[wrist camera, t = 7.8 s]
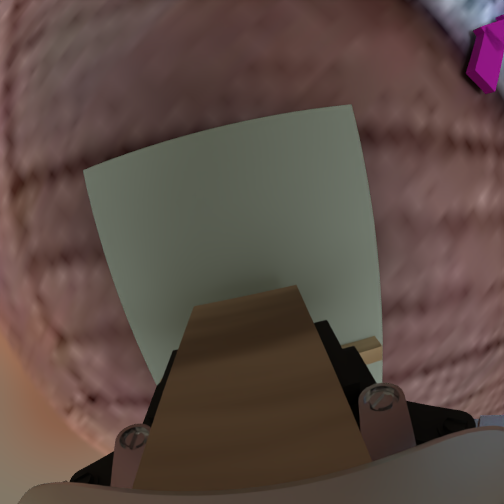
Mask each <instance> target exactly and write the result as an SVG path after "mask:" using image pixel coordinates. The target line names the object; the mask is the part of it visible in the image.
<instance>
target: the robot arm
mask: <svg viewBox="0 0 504 504" xmlns="http://www.w3.org/2000/svg"><path fill="white" fill-rule="evenodd" d="M314 325H315V327H316V329H317V332H318V334H319V336H320V338H321V341H322V343H323V345H324V348H325V350H326V352H327V354H328V357H329V359H330V361H331V364H332V366H333V368H334V371H335V373H336V375H337V378H338V380H339V382H340V385H341V387H342V389H343V392H344V394H345V396H346V399H347V401H348V404H349V406H350V408H351V411H352V413H353V416H354V418H355V420H356V423H357V425H358V428H359V430H360V433H361V435H362V437H363V440H364V442H365V445H366V447H367V450H368V452H369V455H370V457H371V460H372V462H369V463H366V464H363V465H359V466H356V467H353V468H349V469H346V470H342V471H338V472H334V473H330V474H326V475H322V476H317V477H313V478H308V479H303V480H298V481H293V482H287V483H281V484H275V485H268V486H260V487H252V488H242V489H230V490H214V491H157V490H141V489H132V487H133V484H134V480H135V477H136V474H137V470H138V467H139V464H140V461H141V458H142V454H143V451H144V448H145V445H146V442H147V439H148V436H149V433H150V430H151V427H152V424H153V420H154V417H155V414H156V411H157V408H158V406H159V403H160V400H161V397H162V394H163V391H164V388H165V385H166V382H167V379H168V376H169V374H170V371H171V368H172V365H173V362H174V359H175V357H176V354H177V351H178V349H177V350H173V351H172V354H171V357H170V359H169V362H168V364H167V367H166V370H165V372H164V375H163V378H162V380H161V382H160V383H158V385H157V387H156V390H155V392H154V395H153V398H152V400H151V403H150V406H149V408H148V411H147V414H146V417H145V419H144V422H143V424H134V425H130V426H128V427H126V428H124V429H123V430H122V431H121V432H120V433H119V434H118V435H117V438H116V441H115V448H114V452H112V453H110V454H108V455H107V456H105V457H103V458H101V459H100V460H98V461H96V462H94V463H92V464H90V465H89V466H87V467H85V468H83V469H81V470H79V471H78V472H76V473H75V474H74V475H73V476H72V478H71V480H70V482H67V481H63V482H53V483H46V484H40V485H37V486H34V487H32V488H31V489H29V490H28V491H27V492H26V493H25V494H24V495H23V496H22V498H21V499H20V501H19V502H18V504H504V415H489V416H480V418H479V419H473V417H472V416H471V415H470V414H468V413H467V412H464V411H460V410H453V409H447V408H441V407H435V406H430V405H424V404H419V403H414V402H409V401H406V399H405V395H404V393H403V391H402V389H401V388H400V387H398V386H397V385H394V384H392V383H376V381H375V379H374V378H373V376H372V374H371V372H370V371H369V369H368V367H367V366H366V364H365V362H364V361H363V359H362V357H361V356H360V354H359V352H358V351H357V349H356V347H355V346H351V347H347V348H343V349H342V347H341V345H340V343H339V341H338V339H337V337H336V336H335V334H334V332H333V330H332V328H331V326H330V324H329V322H328V321H327V320H323V321H319V322H315V323H314Z"/></svg>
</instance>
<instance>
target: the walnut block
mask: <svg viewBox="0 0 504 504" xmlns="http://www.w3.org/2000/svg"><path fill="white" fill-rule="evenodd" d="M369 462H372V460H371V457H370V455H369V452H368V450H367V447H366V445H365V442H364V440H363V437H362V435H361V433H360V430H359V428H358V425H357V423H356V420H355V418H354V416H353V413H352V411H351V408H350V406H349V404H348V401H347V399H346V396H345V394H344V392H343V389H342V387H341V385H340V382H339V380H338V378H337V375H336V373H335V371H334V368H333V366H332V364H331V361H330V359H329V357H328V354H327V352H326V350H325V348H324V345H323V343H322V341H321V338H320V336H319V334H318V332H317V329H316V327H315V325H314V323H313V320H312V318H311V316H310V314H309V311H308V309H307V307H306V305H305V303H304V300H303V298H302V296H301V294H300V292H299V289H298V287H297V285H292V286H288V287H284V288H279V289H275V290H270V291H266V292H261V293H256V294H252V295H247V296H242V297H238V298H233V299H228V300H223V301H218V302H213V303H208V304H203V305H198V306H194V307H193V310H192V313H191V315H190V318H189V321H188V323H187V326H186V329H185V332H184V334H183V337H182V340H181V343H180V345H179V348H178V351H177V354H176V357H175V359H174V362H173V365H172V368H171V371H170V374H169V376H168V379H167V382H166V385H165V388H164V391H163V394H162V397H161V400H160V403H159V406H158V408H157V411H156V414H155V417H154V420H153V424H152V427H151V430H150V433H149V436H148V439H147V442H146V445H145V448H144V451H143V454H142V458H141V461H140V464H139V467H138V470H137V474H136V477H135V480H134V484H133V487H132V489H141V490H157V491H214V490H230V489H242V488H252V487H260V486H268V485H275V484H281V483H287V482H293V481H298V480H303V479H308V478H313V477H317V476H322V475H326V474H330V473H334V472H338V471H342V470H346V469H349V468H353V467H356V466H359V465H363V464H366V463H369Z"/></svg>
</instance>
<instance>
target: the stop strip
mask: <svg viewBox="0 0 504 504" xmlns="http://www.w3.org/2000/svg"><path fill="white" fill-rule="evenodd" d="M351 346H355V347H356V349H357V351H358V352H359V354H360V356H361V357H362V359H363V361H364V362H365V364H366V365H368V364H371V363H374V362H377V361H380V360H382V345H381V343H380V342H379V341H378V339H377V338H376V337H375V336H372V337H369V338H365V339H362V340H359V341H355V342H352V343H348V344H344V345H341V347H342V349H343V348H347V347H351ZM161 380H162V379H161ZM161 380H160V382H161Z"/></svg>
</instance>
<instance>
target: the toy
mask: <svg viewBox="0 0 504 504" xmlns="http://www.w3.org/2000/svg"><path fill="white" fill-rule="evenodd" d="M496 20H497V22H494V23H491V24H488V25H485V26H482V27H479V28H477V29H475V30H473V32H474V34H475V35H476V40H475V44H474V47H473V51H472V54H471V58H470V61H469V64H468V68H467V71H466V74H467V75H468V76H469V77H470V78H471V79H472V80H473V81H474V82H475V83H476V84H477V85H478V86H479V88H480V89H481V90H482V91H483V92H484V93H485V94H488V93H492V92H495V90H496V86H497V82H498V77H499V73H500V68H501V63H502V58H503V53H504V15H501V16H498V17H496Z"/></svg>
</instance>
